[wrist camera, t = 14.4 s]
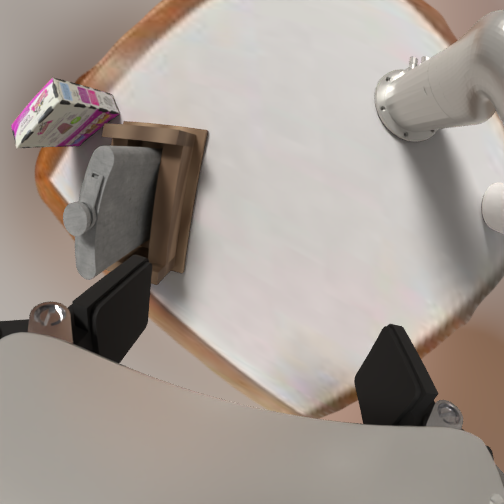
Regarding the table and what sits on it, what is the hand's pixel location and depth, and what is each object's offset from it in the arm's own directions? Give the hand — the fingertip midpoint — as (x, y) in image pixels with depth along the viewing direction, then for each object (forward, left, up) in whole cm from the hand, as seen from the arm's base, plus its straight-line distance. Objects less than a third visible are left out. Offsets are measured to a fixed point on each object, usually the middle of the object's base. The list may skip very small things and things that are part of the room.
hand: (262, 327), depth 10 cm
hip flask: (+3, -20, -35) cm, 40 cm away
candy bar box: (-9, -35, -36) cm, 51 cm away
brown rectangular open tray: (+3, -20, -35) cm, 41 cm away
